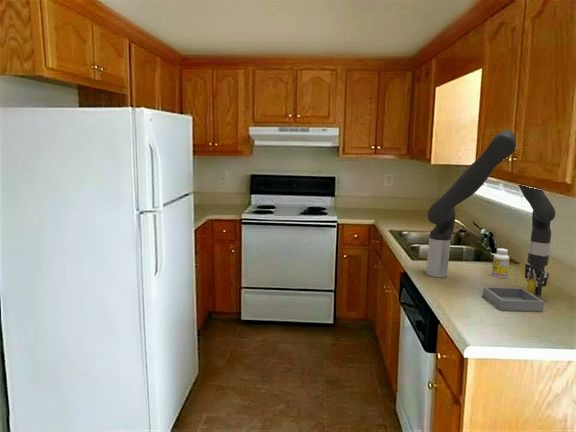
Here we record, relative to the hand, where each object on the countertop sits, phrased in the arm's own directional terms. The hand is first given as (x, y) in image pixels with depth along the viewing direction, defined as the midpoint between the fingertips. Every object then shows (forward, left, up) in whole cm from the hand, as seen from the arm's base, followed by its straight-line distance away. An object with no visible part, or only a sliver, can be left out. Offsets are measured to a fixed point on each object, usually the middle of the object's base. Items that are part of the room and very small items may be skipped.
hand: (533, 292), depth 198 cm
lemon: (0, 0, -2) cm, 2 cm away
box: (+10, -14, -1) cm, 17 cm away
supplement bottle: (-28, -1, -2) cm, 28 cm away
